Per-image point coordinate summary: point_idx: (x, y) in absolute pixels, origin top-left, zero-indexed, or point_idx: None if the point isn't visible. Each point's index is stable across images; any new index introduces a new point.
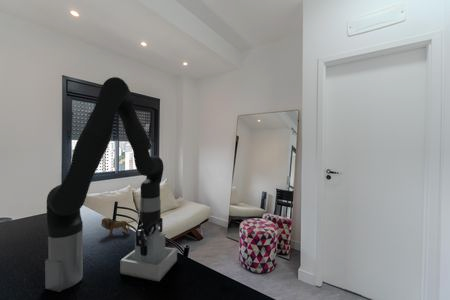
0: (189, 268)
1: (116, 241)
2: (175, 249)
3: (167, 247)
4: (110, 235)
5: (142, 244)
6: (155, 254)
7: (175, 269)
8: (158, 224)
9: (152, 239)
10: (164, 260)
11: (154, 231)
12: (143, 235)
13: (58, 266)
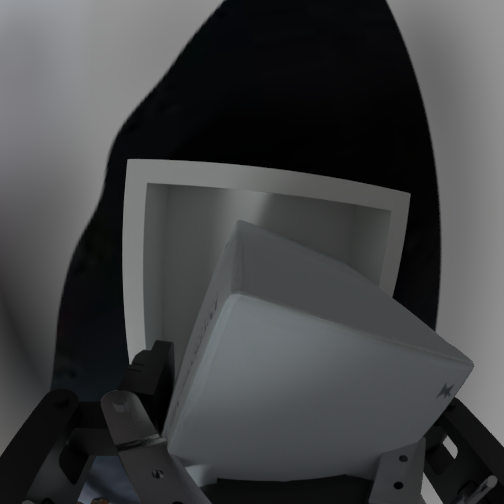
0: (224, 63)
1: (122, 486)
2: (140, 166)
3: (124, 256)
4: (106, 500)
5: (459, 408)
6: (357, 276)
7: (249, 137)
8: (54, 496)
9: (467, 376)
10: (329, 187)
11: (236, 492)
12: (495, 465)
13: (423, 501)
